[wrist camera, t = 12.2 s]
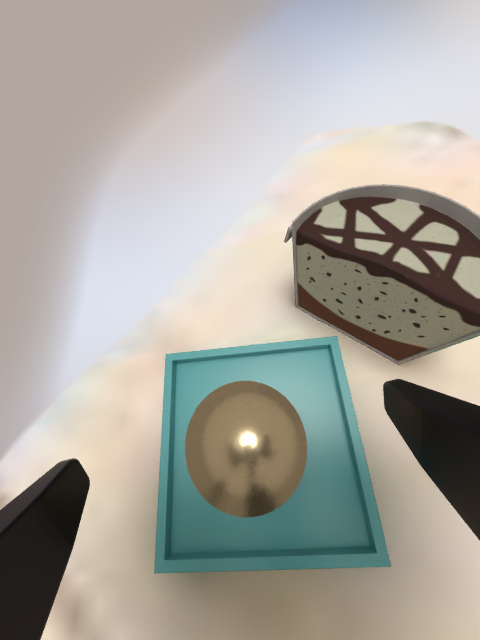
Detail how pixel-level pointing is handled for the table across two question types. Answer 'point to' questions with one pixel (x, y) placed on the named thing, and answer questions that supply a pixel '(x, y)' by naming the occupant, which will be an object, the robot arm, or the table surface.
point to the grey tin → (246, 449)
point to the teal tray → (313, 490)
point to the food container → (390, 268)
